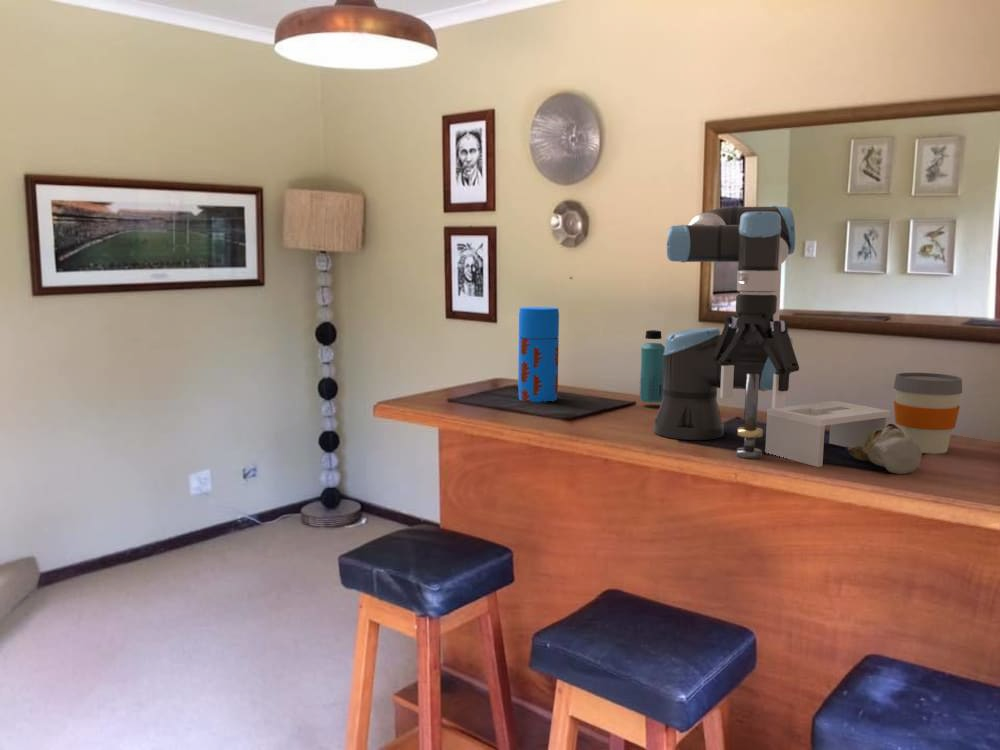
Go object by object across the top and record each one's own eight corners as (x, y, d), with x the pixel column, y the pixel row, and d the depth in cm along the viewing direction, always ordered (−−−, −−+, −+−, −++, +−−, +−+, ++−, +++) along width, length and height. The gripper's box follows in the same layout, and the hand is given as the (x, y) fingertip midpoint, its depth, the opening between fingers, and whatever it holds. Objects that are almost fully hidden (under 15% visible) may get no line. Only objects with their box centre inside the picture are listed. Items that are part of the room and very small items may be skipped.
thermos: (541, 394, 237) (542, 306, 233) (565, 400, 228) (567, 308, 225) (510, 398, 231) (511, 307, 227) (533, 403, 222) (534, 309, 218)
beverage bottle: (660, 409, 215) (663, 331, 212) (635, 406, 218) (638, 330, 215) (667, 405, 221) (669, 329, 218) (642, 403, 224) (645, 328, 221)
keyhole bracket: (817, 467, 156) (820, 419, 155) (765, 452, 167) (767, 408, 166) (887, 455, 166) (890, 410, 165) (832, 442, 177) (835, 400, 176)
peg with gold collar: (730, 454, 166) (734, 373, 163) (748, 452, 168) (752, 371, 166) (749, 460, 161) (753, 376, 159) (766, 457, 164) (771, 374, 161)
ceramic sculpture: (882, 429, 148) (843, 418, 163) (880, 477, 149) (841, 461, 164) (940, 429, 149) (895, 418, 163) (938, 477, 149) (893, 461, 164)
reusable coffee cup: (882, 440, 179) (887, 371, 177) (944, 443, 177) (950, 373, 175) (899, 454, 167) (904, 380, 165) (967, 457, 165) (973, 382, 163)
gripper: (696, 291, 169) (692, 394, 172) (794, 296, 147) (787, 414, 150) (724, 291, 173) (720, 392, 176) (823, 295, 151) (816, 411, 154)
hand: (751, 402), depth 163 cm, fingers open, 13 cm apart
